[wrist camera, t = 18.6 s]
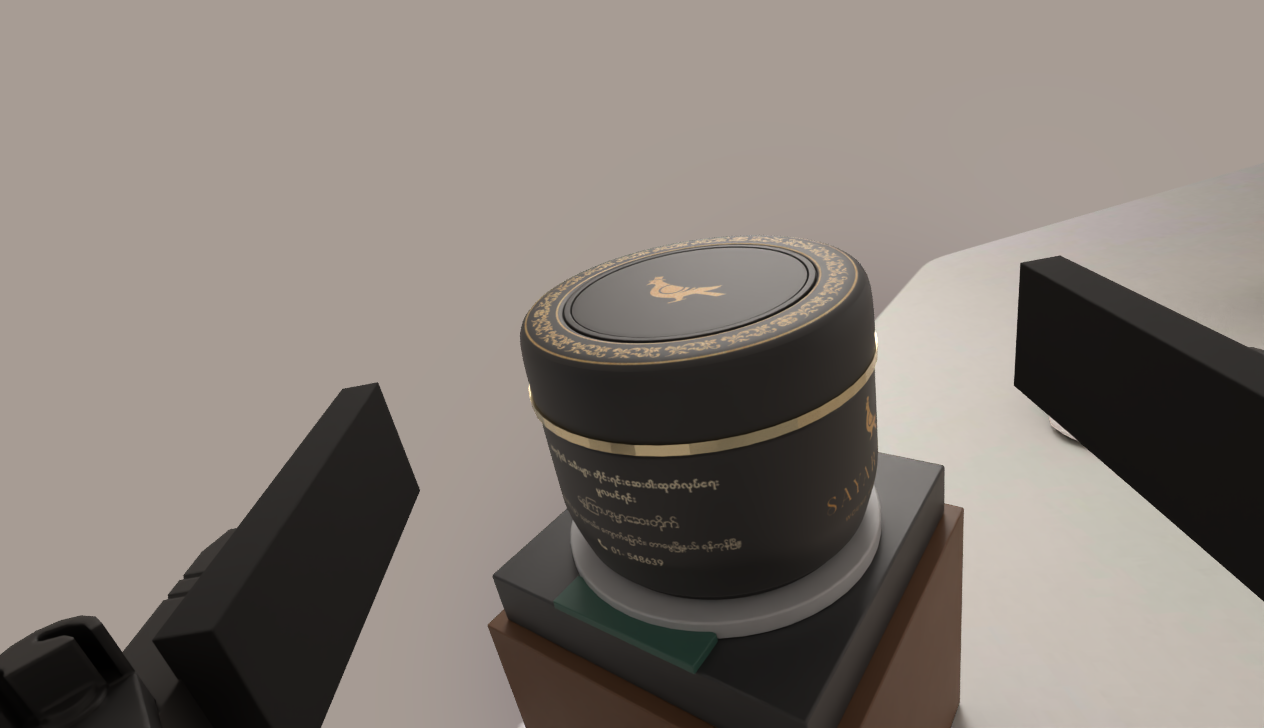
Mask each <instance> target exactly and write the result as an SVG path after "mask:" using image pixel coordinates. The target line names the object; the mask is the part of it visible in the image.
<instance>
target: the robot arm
mask: <svg viewBox="0 0 1264 728" xmlns="http://www.w3.org/2000/svg"><path fill="white" fill-rule="evenodd" d="M1014 386H1015V387H1016V388H1017V389H1019V390H1020V391H1021V392H1022V393H1023V394H1024V395H1026V396H1027V397H1028V398H1029V399H1030V400H1031V401H1033V402H1034V403H1035V404H1036V405H1037V406H1038V407H1039V408H1041V409H1042V410H1043V411H1044V412H1045V413H1046V414H1048V415H1049V416H1050V417H1051V418H1052V419H1053V420H1055V421H1056V422H1057V423H1058V424H1059V425H1060V426H1061V427H1063V428H1064V429H1065V430H1066V431H1067V432H1068V433H1070V434H1071V435H1072V436H1073V437H1074V438H1075V439H1076V440H1078V441H1079V442H1080V443H1081V444H1082V445H1083V446H1085V447H1086V448H1087V449H1088V450H1089V451H1090V452H1092V453H1093V454H1094V455H1095V456H1096V457H1097V458H1098V459H1100V460H1101V461H1102V462H1103V463H1104V464H1105V465H1107V466H1108V467H1109V468H1110V469H1111V470H1112V471H1114V472H1115V473H1116V474H1117V475H1118V476H1119V477H1120V478H1122V479H1123V480H1124V481H1125V482H1126V483H1127V484H1129V485H1130V486H1131V487H1132V488H1133V489H1134V490H1135V491H1137V492H1138V493H1139V494H1140V495H1141V496H1142V497H1144V498H1145V499H1146V500H1147V501H1148V502H1149V503H1151V504H1152V505H1153V506H1154V507H1155V508H1156V509H1157V510H1159V511H1160V512H1161V513H1162V514H1163V515H1164V516H1166V517H1167V518H1168V519H1169V520H1170V521H1171V522H1173V523H1174V524H1175V525H1176V526H1177V527H1178V528H1179V529H1181V530H1182V531H1183V532H1184V533H1185V534H1186V535H1188V536H1189V537H1190V538H1191V539H1192V540H1193V541H1195V542H1196V543H1197V544H1198V545H1199V546H1200V547H1201V548H1203V549H1204V550H1205V551H1206V552H1207V553H1208V554H1210V555H1211V556H1212V557H1213V558H1214V559H1215V560H1216V561H1218V562H1219V563H1220V564H1221V565H1222V566H1223V567H1225V568H1226V569H1227V570H1228V571H1229V572H1230V573H1232V574H1233V575H1234V576H1235V577H1236V578H1237V579H1238V580H1240V581H1241V582H1242V583H1243V584H1244V585H1245V586H1247V587H1248V588H1249V589H1250V590H1251V591H1252V592H1254V593H1255V594H1256V595H1257V596H1258V597H1259V598H1260V599H1262V600H1263V601H1264V350H1261V349H1257V348H1254V347H1247V346H1245V345H1242V344H1240V343H1238V342H1236V341H1234V340H1232V339H1230V338H1228V337H1226V336H1224V335H1222V334H1220V333H1218V332H1216V331H1214V330H1212V329H1210V328H1208V327H1206V326H1203V325H1201V324H1199V323H1197V322H1195V321H1193V320H1191V319H1189V318H1187V317H1185V316H1183V315H1181V314H1179V313H1177V312H1175V311H1173V310H1171V309H1169V308H1167V307H1164V306H1162V305H1160V304H1158V303H1156V302H1154V301H1152V300H1150V299H1148V298H1146V297H1144V296H1142V295H1140V294H1138V293H1136V292H1134V291H1132V290H1130V289H1128V288H1126V287H1123V286H1121V285H1119V284H1117V283H1115V282H1113V281H1111V280H1109V279H1107V278H1105V277H1103V276H1101V275H1099V274H1097V273H1095V272H1093V271H1091V270H1089V269H1087V268H1084V267H1082V266H1080V265H1078V264H1076V263H1074V262H1072V261H1070V260H1068V259H1066V258H1064V257H1062V256H1055V257H1050V258H1044V259H1039V260H1034V261H1028V262H1023V263H1020V282H1019V300H1018V319H1017V338H1016V356H1015V375H1014ZM419 492H420V489H419V486H418V484H417V481H416V479H415V477H414V474H413V471H412V468H411V466H410V463H409V461H408V458H407V456H406V453H405V450H404V448H403V445H402V443H401V440H400V438H399V435H398V432H397V430H396V427H395V425H394V422H393V420H392V417H391V415H390V412H389V410H388V407H387V404H386V402H385V399H384V397H383V394H382V392H381V389H380V386H379V384H378V383H372V384H367V385H362V386H356V387H350V388H345V389H342V390H341V392H340V393H339V394H338V396H337V397H336V398H335V399H334V401H333V402H332V403H331V405H330V406H329V407H328V409H327V410H326V411H325V413H324V414H323V415H322V417H321V418H320V419H319V421H318V422H317V423H316V425H315V426H314V427H313V429H312V430H311V431H310V432H309V434H308V435H307V436H306V438H305V439H304V440H303V442H302V443H301V444H300V446H299V447H298V448H297V450H296V451H295V452H294V454H293V455H292V456H291V458H290V459H289V460H288V461H287V463H286V464H285V465H284V467H283V468H282V469H281V471H280V472H279V473H278V475H277V476H276V477H275V479H274V480H273V481H272V483H271V484H270V485H269V487H268V488H267V489H266V491H265V492H264V493H263V494H262V496H261V497H260V498H259V500H258V501H257V502H256V504H255V505H254V506H253V508H252V509H251V510H250V512H249V513H248V514H247V516H246V517H245V518H244V519H243V521H242V522H241V524H240V525H239V526H238V527H237V528H235V529H230V530H228V531H227V532H226V533H225V534H223V535H222V536H221V537H220V538H219V539H217V540H216V541H215V542H214V543H212V544H211V545H210V546H209V547H207V548H206V549H205V550H204V551H202V552H201V554H200V555H199V556H198V558H197V559H196V560H195V561H194V563H193V564H192V565H191V566H190V568H189V569H188V570H187V571H186V573H185V574H184V579H183V580H179V582H178V583H177V584H176V585H175V587H174V588H173V589H172V591H171V592H170V593H169V594H168V599H167V600H164V601H163V602H162V603H161V604H160V605H159V607H158V608H157V609H156V611H155V612H154V613H153V614H152V616H151V617H150V618H149V619H148V621H147V622H146V623H145V624H144V626H143V627H142V628H141V630H140V631H139V632H138V633H137V635H136V636H135V637H134V638H133V640H132V641H131V642H130V643H129V645H128V646H127V647H126V649H125V650H124V651H123V652H122V651H121V650H120V648H119V647H118V646H117V644H116V643H115V641H114V640H113V638H112V637H111V635H110V634H109V633H108V631H107V630H106V628H105V627H104V626H103V624H102V623H101V622H100V621H99V620H98V619H97V618H96V617H93V616H77V617H73V618H69V619H65V620H61V621H58V622H56V623H53V624H51V625H49V626H47V627H45V628H42V629H40V630H37V631H35V632H34V633H32V634H30V635H29V636H27V637H25V638H24V639H22V640H20V641H19V642H17V643H15V644H14V645H12V646H11V647H9V648H8V649H7V650H6V651H4V652H3V653H2V654H1V655H0V728H321V726H322V723H323V721H324V719H325V716H326V714H327V712H328V709H329V707H330V704H331V702H332V700H333V697H334V694H335V692H336V690H337V688H338V685H339V683H340V680H341V678H342V676H343V673H344V671H345V669H346V666H347V664H348V661H349V659H350V657H351V654H352V652H353V649H354V647H355V645H356V642H357V640H358V637H359V635H360V633H361V630H362V628H363V625H364V623H365V621H366V618H367V616H368V614H369V611H370V609H371V606H372V604H373V602H374V599H375V597H376V594H377V592H378V590H379V587H380V585H381V582H382V580H383V578H384V575H385V573H386V570H387V568H388V566H389V563H390V561H391V559H392V556H393V553H394V551H395V549H396V547H397V544H398V542H399V539H400V537H401V534H402V532H403V530H404V527H405V525H406V523H407V520H408V518H409V515H410V513H411V511H412V508H413V506H414V503H415V501H416V499H417V496H418V494H419Z"/></svg>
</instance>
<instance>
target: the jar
mask: <svg viewBox="0 0 1264 728" xmlns="http://www.w3.org/2000/svg"><path fill="white" fill-rule="evenodd" d="M520 342H521V350H522V356H523V361H524V365H525V369H526V374H527V377H528V381H529V395H530V400H531V403H532V407H533V409H534V412H535V414H536V416H537V418H538V419H539V420H540V421H541V422H542V424H543V428H544V432H545V435H546V438H547V442H548V445H549V449H550V453H551V456H552V460H553V463H554V467H555V470H556V474H557V477H558V481H559V484H560V488H561V491H562V494H563V498H564V501H565V503H566V506H567V509H568V511H569V513H570V515H571V517H572V519H573V521H574V522H575V524H576V526H577V527H578V529H579V531H580V532H581V534H582V535H583V537H584V538H585V540H586V541H587V542H588V544H589V545H590V547H591V548H592V550H593V551H594V552H595V554H596V555H597V556H598V557H599V559H600V560H601V561H602V562H603V563H604V564H606V565H607V566H608V567H609V568H610V569H612V570H613V571H614V572H616V573H617V574H619V575H620V576H622V577H624V578H626V579H628V580H630V581H632V582H634V583H636V584H639V585H641V586H643V587H645V588H648V589H650V590H653V591H656V592H659V593H663V594H666V595H671V596H675V597H681V598H688V599H699V600H724V599H735V598H742V597H748V596H753V595H758V594H762V593H766V592H769V591H772V590H776V589H778V588H781V587H784V586H786V585H789V584H791V583H793V582H796V581H798V580H800V579H802V578H803V577H805V576H807V575H809V574H810V573H812V572H814V571H815V570H817V569H818V568H819V567H821V566H822V565H824V564H825V563H826V562H827V561H828V560H830V559H831V558H832V557H834V556H835V555H836V554H837V553H838V552H839V551H840V550H841V549H842V548H843V547H844V546H845V545H846V544H847V543H848V542H849V541H850V540H851V538H852V537H853V536H854V534H855V533H856V531H857V530H858V528H859V526H860V524H861V522H862V520H863V518H864V515H865V512H866V509H867V506H868V502H869V499H870V496H871V492H872V489H873V485H874V481H875V477H876V472H877V464H878V437H877V412H876V388H875V365H876V362H877V350H878V348H877V336H876V333H875V322H874V308H873V299H872V292H871V286H870V283H869V279H868V276H867V274H866V272H865V270H864V269H863V267H862V266H861V264H860V263H859V262H858V261H857V260H856V259H855V258H853V257H852V256H850V255H849V254H847V253H846V252H844V251H842V250H840V249H838V248H836V247H833V246H830V245H828V244H824V243H821V242H817V241H812V240H807V239H801V238H793V237H783V236H729V237H717V238H708V239H700V240H693V241H687V242H680V243H675V244H670V245H665V246H660V247H656V248H652V249H648V250H644V251H640V252H636V253H633V254H629V255H626V256H623V257H620V258H617V259H614V260H611V261H608V262H605V263H603V264H600V265H598V266H595V267H593V268H590V269H588V270H586V271H584V272H581V273H579V274H577V275H575V276H573V277H571V278H569V279H568V280H566V281H564V282H563V283H561V284H559V285H557V286H556V287H554V288H553V289H551V290H550V291H549V292H547V293H546V294H545V295H543V296H542V297H541V298H540V299H539V300H538V301H537V302H536V303H535V304H534V305H533V306H532V308H531V309H530V310H529V312H528V313H527V314H526V316H525V318H524V321H523V324H522V327H521V332H520Z"/></svg>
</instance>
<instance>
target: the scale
mask: <svg viewBox="0 0 1264 728" xmlns="http://www.w3.org/2000/svg"><path fill="white" fill-rule="evenodd" d="M963 519H964V509H963V508H962V507H957V506H953V505H949V504H945V503H944V466H943V465H939V464H934V463H929V462H924V461H919V460H914V459H909V458H904V457H900V456H895V455H890V454H885V453H880V452H878V464H877V472H876V477H875V481H874V485H873V489H872V492H871V496H870V499H869V502H868V506H867V509H866V512H865V515H864V518H863V520H862V522H861V524H860V526H859V528H858V530H857V531H856V533H855V534H854V536H853V537H852V538H851V540H850V541H849V542H848V543H847V544H846V545H845V546H844V547H843V548H842V549H841V550H840V551H839V552H838V553H837V554H836V555H835V556H834V557H832V558H831V559H830V560H828V561H827V562H826V563H825V564H824V565H822V566H821V567H819V568H818V569H817V570H815V571H814V572H812V573H810V574H809V575H807V576H805V577H803V578H802V579H800V580H798V581H796V582H793V583H791V584H789V585H786V586H784V587H781V588H778V589H776V590H772V591H769V592H766V593H762V594H758V595H753V596H748V597H742V598H735V599H724V600H699V599H688V598H681V597H675V596H671V595H666V594H663V593H659V592H656V591H653V590H650V589H648V588H645V587H643V586H641V585H639V584H636V583H634V582H632V581H630V580H628V579H626V578H624V577H622V576H620V575H619V574H617V573H616V572H614V571H613V570H612V569H610V568H609V567H608V566H607V565H606V564H604V563H603V562H602V561H601V560H600V559H599V557H598V556H597V555H596V554H595V552H594V551H593V550H592V548H591V547H590V545H589V544H588V542H587V541H586V540H585V538H584V537H583V535H582V534H581V532H580V531H579V529H578V527H577V526H576V524H575V522H574V521H573V519H572V517H571V515H570V513H569V511H568V509H566V510H565V511H564V512H563V513H562V514H560V515H559V516H558V517H557V518H556V519H555V520H554V521H553V522H552V523H550V524H549V525H548V526H547V527H546V528H545V529H544V530H543V531H541V532H540V533H539V534H538V535H537V536H536V537H535V538H534V539H533V540H531V541H530V542H529V543H528V544H527V545H526V546H525V547H523V548H522V549H521V550H520V551H519V552H518V553H517V554H516V555H515V556H513V557H512V558H511V559H510V560H509V561H508V562H507V563H506V564H504V565H503V566H502V567H501V568H500V569H499V570H498V571H497V572H495V573H494V575H493V579H494V582H495V585H496V588H497V590H498V593H499V596H500V599H501V602H502V604H503V607H504V610H503V611H502V612H501V613H500V614H499V615H497V616H496V617H495V618H494V619H493V620H492V621H491V622H490V623H489V624H488V628H489V630H490V634H491V636H492V638H493V642H494V644H495V647H496V649H497V652H498V655H499V657H500V660H501V663H502V665H503V668H504V671H505V673H506V676H507V679H508V681H509V684H510V687H511V689H512V692H513V694H514V697H515V700H516V703H517V705H518V708H519V711H520V713H521V716H522V719H523V721H524V724H525V727H526V728H951V725H952V722H953V719H954V717H955V714H956V711H957V708H958V706H959V703H960V662H961V614H962V567H963Z"/></svg>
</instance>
